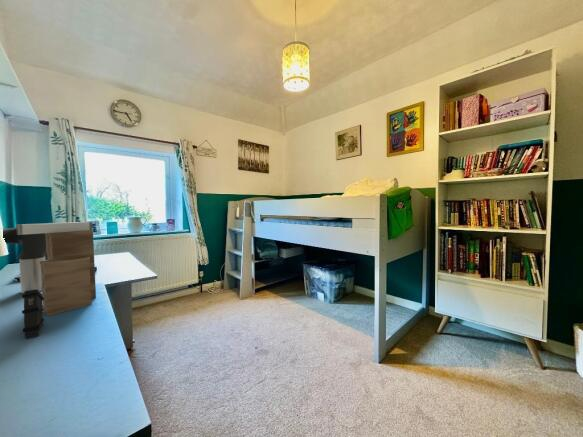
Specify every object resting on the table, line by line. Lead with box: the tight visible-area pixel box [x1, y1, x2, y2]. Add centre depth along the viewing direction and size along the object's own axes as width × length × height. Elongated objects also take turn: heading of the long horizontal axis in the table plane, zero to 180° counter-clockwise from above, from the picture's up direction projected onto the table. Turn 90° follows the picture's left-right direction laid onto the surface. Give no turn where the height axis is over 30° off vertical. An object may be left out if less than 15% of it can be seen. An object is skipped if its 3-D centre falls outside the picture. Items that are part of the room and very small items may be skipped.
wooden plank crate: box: [40, 229, 97, 317], centre depth 108 cm, size 21×18×32 cm
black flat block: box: [21, 289, 45, 340], centre depth 84 cm, size 4×13×15 cm, turn 40°
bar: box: [15, 221, 94, 235], centre depth 108 cm, size 4×24×4 cm, turn 144°
